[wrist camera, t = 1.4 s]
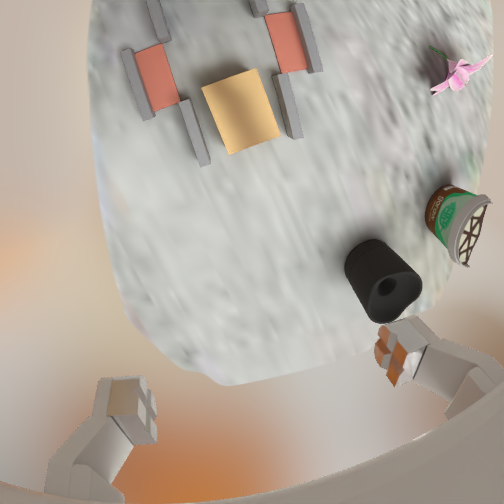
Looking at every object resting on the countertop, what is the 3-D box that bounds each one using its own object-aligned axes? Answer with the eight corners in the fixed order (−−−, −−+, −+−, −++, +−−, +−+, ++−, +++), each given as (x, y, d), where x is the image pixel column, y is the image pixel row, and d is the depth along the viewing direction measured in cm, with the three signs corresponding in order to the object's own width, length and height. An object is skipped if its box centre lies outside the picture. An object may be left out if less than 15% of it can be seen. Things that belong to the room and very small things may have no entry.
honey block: (250, 71, 31) (256, 68, 27) (271, 129, 35) (280, 135, 31) (202, 88, 31) (201, 87, 27) (226, 146, 36) (228, 154, 31)
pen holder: (388, 277, 50) (416, 312, 41) (341, 290, 50) (364, 331, 41) (392, 231, 45) (426, 264, 37) (341, 243, 45) (369, 281, 36)
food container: (429, 172, 40) (471, 195, 32) (453, 176, 41) (493, 199, 33) (411, 240, 47) (445, 272, 38) (435, 240, 48) (468, 270, 39)
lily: (394, 81, 34) (445, 117, 29) (417, 12, 24) (477, 41, 20) (435, 89, 38) (477, 121, 33) (456, 33, 28) (504, 62, 24)
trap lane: (278, -50, 22) (287, -66, 18) (329, 126, 35) (345, 132, 31) (107, -5, 22) (94, -16, 18) (166, 173, 36) (160, 185, 32)
